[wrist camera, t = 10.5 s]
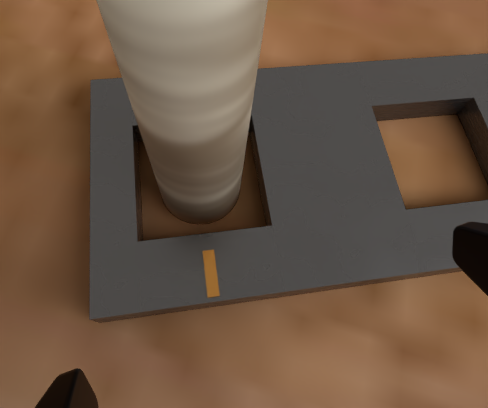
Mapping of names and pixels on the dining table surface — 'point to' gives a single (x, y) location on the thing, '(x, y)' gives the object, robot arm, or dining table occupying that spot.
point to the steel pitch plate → (288, 191)
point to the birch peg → (190, 93)
